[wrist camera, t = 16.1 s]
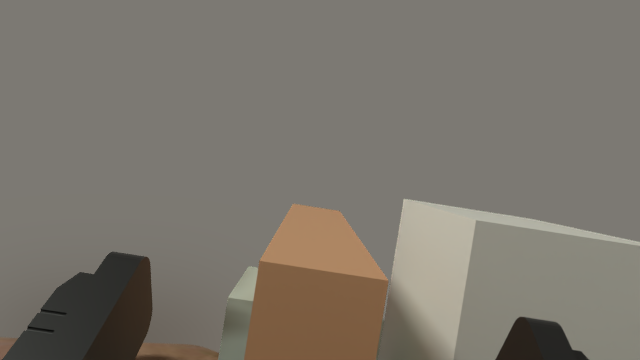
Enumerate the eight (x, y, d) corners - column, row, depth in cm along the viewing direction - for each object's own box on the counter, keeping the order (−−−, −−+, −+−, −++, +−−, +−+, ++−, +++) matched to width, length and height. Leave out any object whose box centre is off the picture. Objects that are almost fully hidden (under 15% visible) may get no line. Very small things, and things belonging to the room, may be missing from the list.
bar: (367, 408, 15) (388, 280, 15) (239, 389, 15) (259, 260, 15) (332, 257, 41) (339, 211, 41) (285, 250, 41) (293, 203, 41)
